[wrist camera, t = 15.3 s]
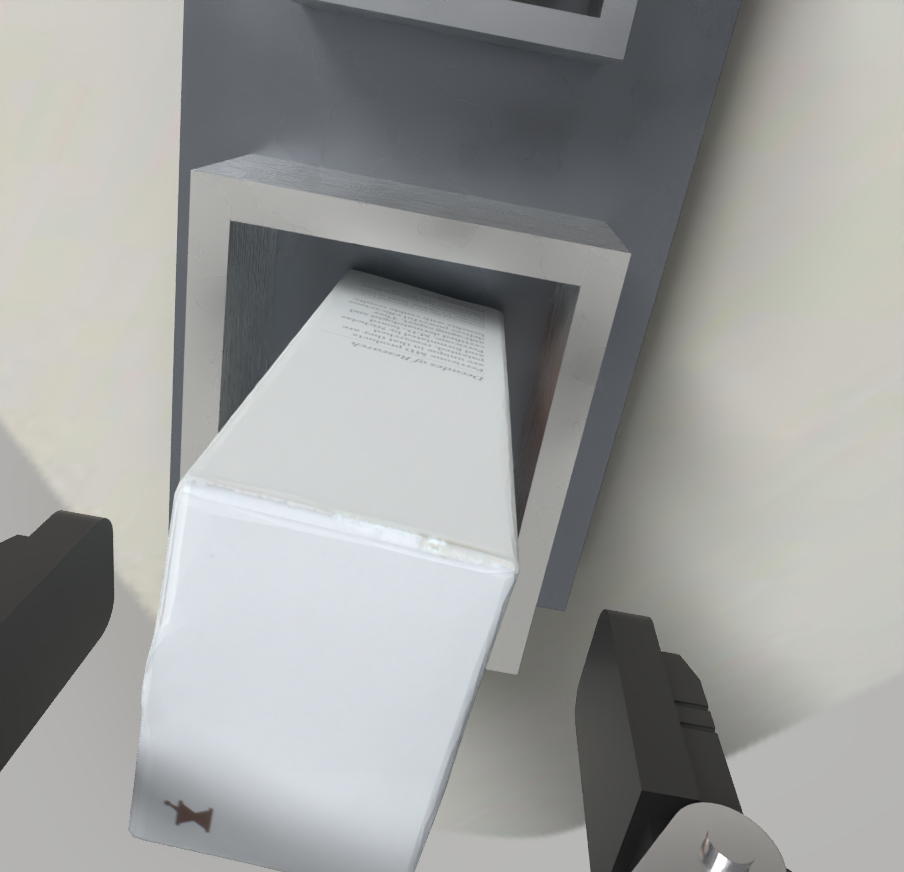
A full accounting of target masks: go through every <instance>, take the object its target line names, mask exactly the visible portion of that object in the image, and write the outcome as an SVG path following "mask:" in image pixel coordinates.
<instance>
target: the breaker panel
mask: <svg viewBox="0 0 904 872" xmlns="http://www.w3.org/2000/svg"><path fill="white" fill-rule="evenodd" d="M741 2H742V0H184V23H183V57H182V91H181V126H180V160H179V194H178V228H177V262H176V297H175V331H174V365H173V399H172V433H171V467H170V502H169V530H170V523H171V515H172V508H173V501H174V494H175V491H176V489H177V487H178V484H179V482H180V480H181V479H182V478H183V477H184V475H185V474H186V473H187V472H188V470H189V469H190V468H191V467H192V466H193V464H194V463H195V462H196V461H197V459H198V458H199V457H200V456H201V455H202V453H203V452H204V451H205V450H206V448H207V447H208V446H209V444H210V443H211V442H212V441H213V439H214V438H215V437H216V435H217V434H218V433H219V432H220V431H221V429H222V428H223V427H224V425H225V424H226V423H227V421H228V420H229V419H230V417H231V416H232V415H233V414H234V413H235V411H236V410H237V409H238V408H239V407H240V405H241V404H242V403H243V401H244V400H245V399H246V397H247V396H248V395H249V394H250V393H251V391H252V390H253V389H254V388H255V386H256V385H257V384H258V382H259V381H260V380H261V379H262V378H263V376H264V375H265V374H266V373H267V371H268V370H269V369H270V368H271V366H272V365H273V364H274V362H275V361H276V360H277V359H278V357H279V356H280V355H281V354H282V352H283V351H284V350H285V349H286V347H287V346H288V345H289V343H290V342H291V341H292V340H293V338H294V337H295V336H296V335H297V334H298V332H299V331H300V330H301V329H302V327H303V326H304V325H305V324H306V322H307V321H308V320H309V319H310V317H311V316H312V315H313V314H314V312H315V311H316V310H317V309H318V307H319V306H320V305H321V304H322V302H323V301H324V300H325V299H326V297H327V296H328V295H329V293H330V292H331V291H332V290H333V288H334V287H335V286H336V285H337V283H338V282H339V281H340V279H341V278H342V277H343V276H344V274H345V273H346V272H347V271H348V270H351V269H353V270H358V271H361V272H365V273H369V274H372V275H376V276H379V277H383V278H386V279H390V280H393V281H397V282H400V283H404V284H407V285H411V286H414V287H418V288H421V289H425V290H428V291H431V292H435V293H438V294H441V295H445V296H448V297H452V298H455V299H458V300H462V301H466V302H470V303H474V304H478V305H482V306H486V307H490V308H494V309H496V310H498V311H500V312H502V313H503V316H504V332H505V345H506V359H507V374H508V389H509V404H510V422H511V437H512V453H513V473H514V488H515V503H516V516H517V532H518V548H519V564H520V573H519V576H518V579H517V581H516V584H515V586H514V589H513V591H512V594H511V597H510V600H509V603H508V605H507V608H506V611H505V614H504V617H503V620H502V623H501V626H500V628H499V631H498V634H497V637H496V640H495V643H494V646H493V649H492V652H491V655H490V657H489V660H488V663H487V666H486V669H487V670H492V671H498V672H504V673H509V674H515V675H517V674H518V670H519V666H520V663H521V659H522V655H523V652H524V648H525V644H526V641H527V637H528V633H529V630H530V626H531V622H532V619H533V615H534V611H535V607H536V606H539V607H544V608H550V609H556V610H561V611H565V608H566V604H567V601H568V597H569V594H570V590H571V587H572V584H573V580H574V577H575V573H576V570H577V566H578V563H579V560H580V556H581V553H582V549H583V546H584V542H585V539H586V535H587V532H588V529H589V525H590V522H591V518H592V515H593V511H594V508H595V504H596V501H597V498H598V494H599V491H600V487H601V484H602V480H603V477H604V473H605V470H606V467H607V463H608V460H609V456H610V453H611V449H612V446H613V442H614V439H615V436H616V432H617V429H618V425H619V422H620V418H621V415H622V412H623V408H624V405H625V401H626V398H627V394H628V391H629V387H630V384H631V381H632V377H633V374H634V370H635V367H636V363H637V360H638V356H639V353H640V350H641V346H642V343H643V339H644V336H645V332H646V329H647V325H648V322H649V319H650V315H651V312H652V308H653V305H654V301H655V298H656V294H657V291H658V288H659V284H660V281H661V277H662V274H663V270H664V267H665V264H666V260H667V257H668V253H669V250H670V246H671V243H672V239H673V236H674V233H675V229H676V226H677V222H678V219H679V215H680V212H681V208H682V205H683V202H684V198H685V195H686V191H687V188H688V184H689V181H690V177H691V174H692V171H693V167H694V164H695V160H696V157H697V153H698V150H699V146H700V143H701V140H702V136H703V133H704V129H705V126H706V122H707V119H708V116H709V112H710V109H711V105H712V102H713V98H714V95H715V91H716V88H717V85H718V81H719V78H720V74H721V71H722V67H723V64H724V60H725V57H726V54H727V50H728V47H729V43H730V40H731V36H732V33H733V29H734V26H735V23H736V19H737V16H738V12H739V9H740V5H741ZM168 537H169V536H168Z"/></svg>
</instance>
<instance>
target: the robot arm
mask: <svg viewBox="0 0 904 872" xmlns="http://www.w3.org/2000/svg"><path fill="white" fill-rule="evenodd" d="M113 603H114V563H113V528H112V524H111V522H110V520H109V519H107V518H101V517H96V516H90V515H85V514H79V513H74V512H68V511H62V510H60V511H57V512H55V513H54V514H53V515H52V516H51V517H50V518H49V519H47V520H46V521H45V522H44V523H43V524H42V525H41V526H40V527H39V528H38V529H37V530H36V531H35V532H33V534H31V535H30V536H29V537H27V536H22V535H16V536H14V537H12V538H9V539H7V540H5V541H3V542H1V543H0V771H1V770H2V769H3V767H4V766H5V765H6V763H7V762H8V761H9V759H10V758H11V756H12V755H13V754H14V752H15V751H16V750H17V749H18V747H19V746H20V745H21V743H22V742H23V741H24V739H25V738H26V737H27V735H28V734H29V733H30V731H31V730H32V729H33V727H34V726H35V725H36V723H37V722H38V721H39V719H40V718H41V717H42V715H43V714H44V713H45V711H46V710H47V709H48V707H49V706H50V705H51V703H52V702H53V701H54V699H55V698H56V696H57V695H58V693H59V692H60V691H61V690H62V688H63V687H64V686H65V684H66V683H67V682H68V680H69V679H70V677H71V676H72V675H73V674H74V672H75V671H76V670H77V668H78V667H79V666H80V664H81V663H82V662H83V660H84V659H85V657H86V656H87V655H88V653H89V652H90V651H91V650H92V648H93V647H94V646H95V644H96V643H97V641H98V640H99V639H100V638H101V636H102V635H103V633H104V631H105V629H106V627H107V625H108V622H109V619H110V616H111V613H112V609H113ZM575 724H576V734H577V743H578V753H579V763H580V772H581V782H582V792H583V801H584V811H585V821H586V830H587V839H588V849H589V858H590V869H591V872H792V871H790V870H788V869H787V868H786V866H785V863H784V860H783V857H782V855H781V853H780V852H779V850H778V848H777V846H776V845H775V843H774V842H773V840H772V839H771V838H770V837H769V836H768V835H767V833H766V832H765V831H764V830H763V829H761V828H760V827H759V826H758V825H757V824H756V823H754V822H753V821H752V820H751V819H749V818H748V817H746V816H744V815H743V812H742V809H741V806H740V803H739V800H738V797H737V794H736V791H735V788H734V784H733V781H732V778H731V775H730V772H729V769H728V766H727V763H726V760H725V757H724V753H723V750H722V747H721V744H720V741H719V738H718V735H717V733H715V725H714V722H713V719H712V716H711V713H710V711H708V704H707V701H706V697H705V694H704V691H703V688H702V685H701V682H700V679H699V678H698V677H697V676H696V675H695V673H694V672H693V671H692V670H691V668H690V667H689V666H688V665H687V663H686V662H685V661H684V660H683V658H682V657H681V656H680V655H678V654H672V653H667V652H661V651H660V647H659V643H658V640H657V636H656V632H655V628H654V625H653V622H652V620H651V618H650V617H645V616H640V615H634V614H629V613H623V612H617V611H612V610H606V609H604V610H603V611H602V612H601V614H600V616H599V619H598V622H597V625H596V629H595V632H594V635H593V639H592V642H591V645H590V649H589V652H588V655H587V658H586V662H585V665H584V668H583V672H582V675H581V678H580V682H579V686H578V691H577V697H576V707H575Z"/></svg>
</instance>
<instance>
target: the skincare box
mask: <svg viewBox="0 0 904 872" xmlns="http://www.w3.org/2000/svg"><path fill="white" fill-rule="evenodd" d="M519 573H520V564H519V548H518V532H517V516H516V503H515V488H514V473H513V453H512V437H511V422H510V404H509V389H508V374H507V359H506V345H505V332H504V316H503V313H502V312H500V311H498V310H496V309H494V308H490V307H486V306H482V305H478V304H474V303H470V302H466V301H462V300H458V299H455V298H452V297H448V296H445V295H441V294H438V293H435V292H431V291H428V290H425V289H421V288H418V287H414V286H411V285H407V284H404V283H400V282H397V281H393V280H390V279H386V278H383V277H379V276H376V275H372V274H369V273H365V272H361V271H358V270H353V269H351V270H348V271H347V272H346V273H345V274H344V276H343V277H342V278H341V279H340V281H339V282H338V283H337V285H336V286H335V287H334V288H333V290H332V291H331V292H330V293H329V295H328V296H327V297H326V299H325V300H324V301H323V302H322V304H321V305H320V306H319V307H318V309H317V310H316V311H315V312H314V314H313V315H312V316H311V317H310V319H309V320H308V321H307V322H306V324H305V325H304V326H303V327H302V329H301V330H300V331H299V332H298V334H297V335H296V336H295V337H294V338H293V340H292V341H291V342H290V343H289V345H288V346H287V347H286V349H285V350H284V351H283V352H282V354H281V355H280V356H279V357H278V359H277V360H276V361H275V362H274V364H273V365H272V366H271V368H270V369H269V370H268V371H267V373H266V374H265V375H264V376H263V378H262V379H261V380H260V381H259V382H258V384H257V385H256V386H255V388H254V389H253V390H252V391H251V393H250V394H249V395H248V396H247V397H246V399H245V400H244V401H243V403H242V404H241V405H240V407H239V408H238V409H237V410H236V411H235V413H234V414H233V415H232V416H231V417H230V419H229V420H228V421H227V423H226V424H225V425H224V427H223V428H222V429H221V431H220V432H219V433H218V434H217V435H216V437H215V438H214V439H213V441H212V442H211V443H210V444H209V446H208V447H207V448H206V450H205V451H204V452H203V453H202V455H201V456H200V457H199V458H198V459H197V461H196V462H195V463H194V464H193V466H192V467H191V468H190V469H189V470H188V472H187V473H186V474H185V475H184V477H183V478H182V479H181V480H180V482H179V484H178V487H177V489H176V491H175V494H174V501H173V508H172V515H171V523H170V530H169V537H168V545H167V552H166V560H165V567H164V574H163V580H162V586H161V595H160V602H159V608H158V615H157V621H156V626H155V631H154V637H153V641H152V645H151V648H150V652H149V655H148V659H147V664H146V669H145V675H144V681H143V689H142V696H141V708H142V720H141V731H140V739H139V745H138V753H137V762H136V771H135V781H134V788H133V796H132V804H131V812H130V820H129V828H128V829H129V831H130V833H131V834H132V836H133V837H136V838H138V839H141V840H145V841H150V842H154V843H158V844H163V845H167V846H172V847H176V848H181V849H185V850H191V851H195V852H199V853H204V854H208V855H213V856H217V857H222V858H226V859H231V860H235V861H239V862H244V863H248V864H252V865H257V866H261V867H265V868H269V869H273V870H277V871H281V872H415V869H416V866H417V864H418V861H419V859H420V856H421V853H422V850H423V848H424V845H425V842H426V840H427V837H428V835H429V832H430V830H431V827H432V825H433V822H434V819H435V817H436V814H437V811H438V808H439V806H440V803H441V800H442V797H443V795H444V792H445V789H446V786H447V783H448V780H449V777H450V773H451V770H452V767H453V764H454V761H455V757H456V754H457V751H458V748H459V745H460V742H461V739H462V736H463V733H464V729H465V726H466V723H467V720H468V717H469V714H470V711H471V708H472V706H473V703H474V700H475V697H476V694H477V691H478V689H479V686H480V683H481V680H482V677H483V674H484V672H485V669H486V666H487V663H488V660H489V657H490V655H491V652H492V649H493V646H494V643H495V640H496V637H497V634H498V631H499V628H500V626H501V623H502V620H503V617H504V614H505V611H506V608H507V605H508V603H509V600H510V597H511V594H512V591H513V589H514V586H515V584H516V581H517V579H518V576H519Z"/></svg>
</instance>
